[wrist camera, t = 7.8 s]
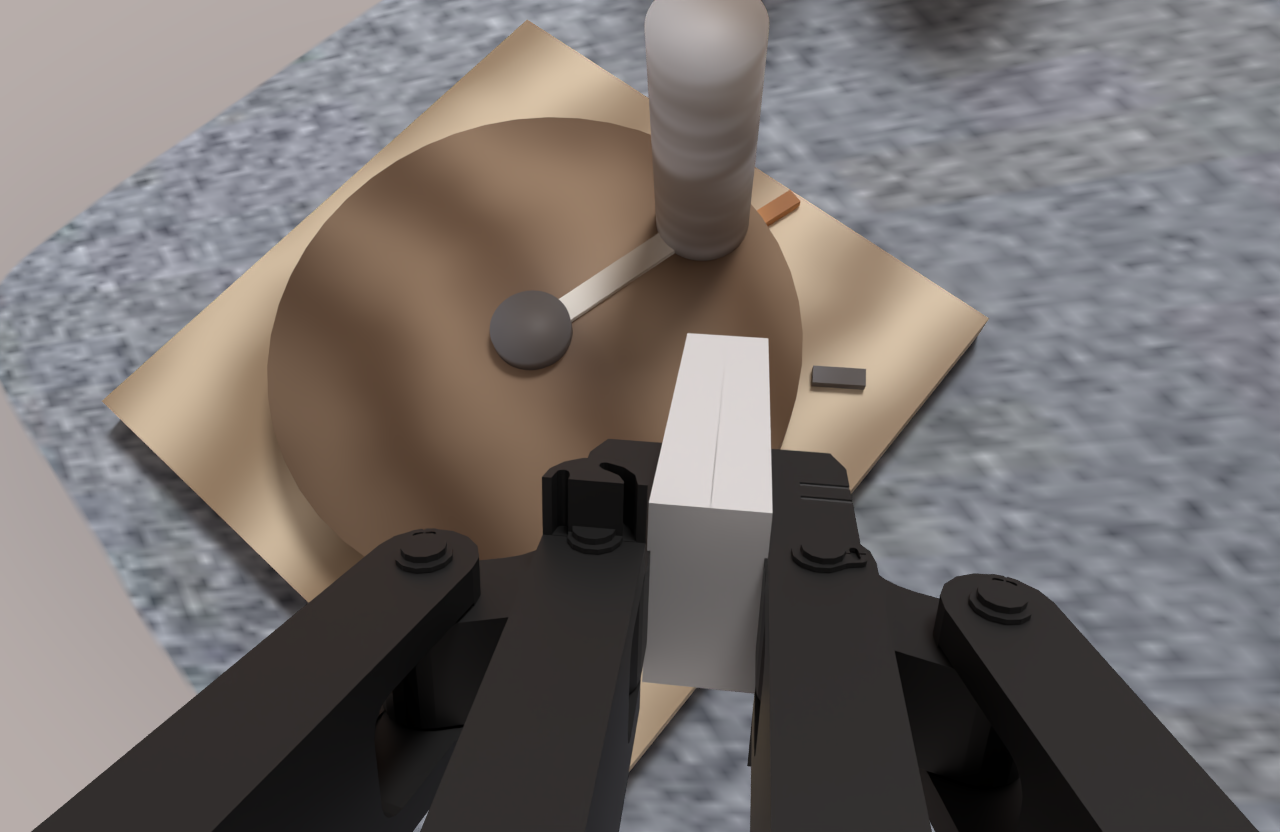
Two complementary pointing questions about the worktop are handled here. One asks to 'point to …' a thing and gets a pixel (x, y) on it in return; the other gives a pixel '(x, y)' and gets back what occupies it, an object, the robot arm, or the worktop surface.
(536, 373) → the dial
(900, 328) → the stand plate
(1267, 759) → the worktop surface
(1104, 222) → the worktop surface
